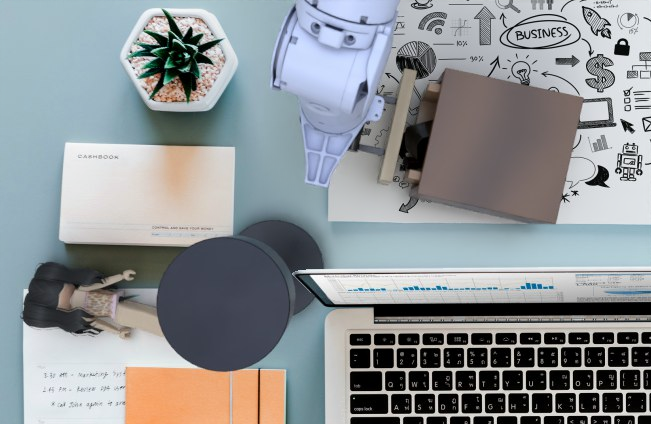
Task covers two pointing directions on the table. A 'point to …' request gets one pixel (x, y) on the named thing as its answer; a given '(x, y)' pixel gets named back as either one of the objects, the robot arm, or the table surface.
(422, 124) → the black dial device
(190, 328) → the desk lamp
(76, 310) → the toy figure
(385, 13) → the robot arm
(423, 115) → the drawer
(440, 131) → the cabinet
